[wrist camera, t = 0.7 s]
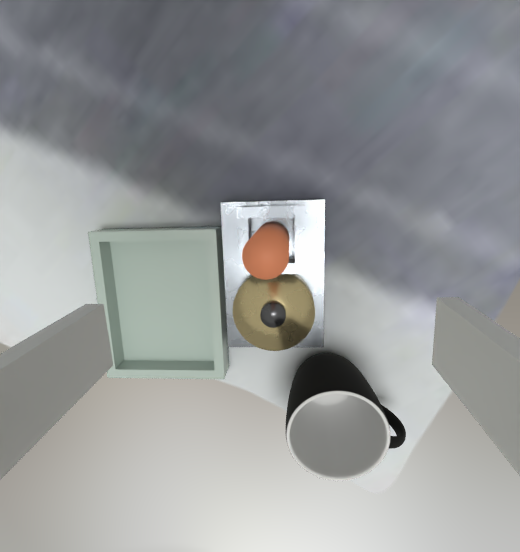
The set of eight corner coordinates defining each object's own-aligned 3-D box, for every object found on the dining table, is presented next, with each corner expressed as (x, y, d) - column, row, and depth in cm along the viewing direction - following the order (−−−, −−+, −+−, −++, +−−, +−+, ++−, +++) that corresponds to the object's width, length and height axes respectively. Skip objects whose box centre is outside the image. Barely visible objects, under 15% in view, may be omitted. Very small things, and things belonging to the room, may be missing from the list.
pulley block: (321, 337, 40) (326, 360, 34) (231, 337, 40) (223, 359, 35) (322, 199, 36) (328, 200, 31) (224, 202, 37) (214, 203, 32)
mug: (275, 398, 42) (271, 461, 32) (302, 330, 40) (307, 376, 30) (372, 433, 42) (398, 507, 32) (405, 367, 40) (443, 424, 30)
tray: (103, 229, 39) (87, 232, 36) (221, 226, 38) (215, 229, 35) (120, 365, 42) (107, 377, 39) (228, 366, 41) (224, 379, 38)
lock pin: (255, 221, 35) (241, 233, 24) (289, 220, 35) (288, 232, 24) (257, 254, 36) (242, 279, 25) (289, 253, 35) (289, 279, 25)
